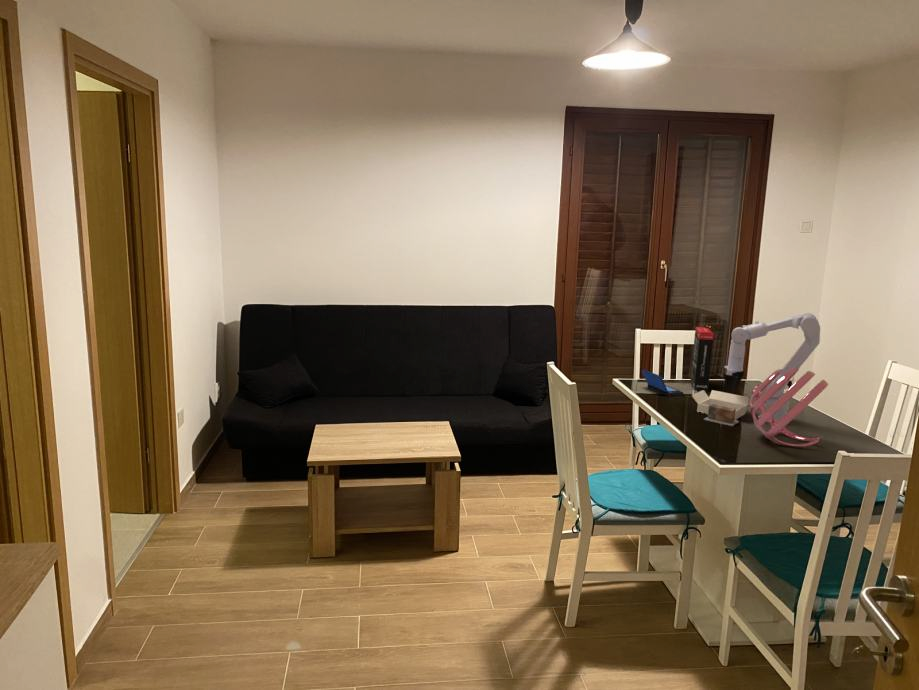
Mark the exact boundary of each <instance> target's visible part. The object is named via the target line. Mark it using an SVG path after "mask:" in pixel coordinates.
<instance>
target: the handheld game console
mask: <svg viewBox="0 0 919 690" xmlns="http://www.w3.org/2000/svg"><path fill="white" fill-rule="evenodd" d="M641 372H642V375H643V377H644V379H645V381H646V384H647V385H646V387H647V388H648V387H649V389H650V388H651V389H650V390H652V389H653V390H652V391H655V390H657V391H656V392H658V393H659V392H660V394H661V393H662V395H664V396H667V397H669V396H671V395H673V396H683V395H684V392H683V391H681V390H679V389H676V388H674V387H672V386H669V385H666V384H665V382H664V379H663V377H662V376H661V375H659V374H657V373H654V372H651V371H649V370H646V369H643V368H642V369H641Z"/></svg>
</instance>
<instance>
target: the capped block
mask: <svg viewBox="0 0 919 690" xmlns="http://www.w3.org/2000/svg"><path fill="white" fill-rule="evenodd" d="M735 412H736V409H733V408H728V407H724V406H719V405H714V404H712V405H710V406H709V410H708V414H707V417H708V419H713V420H717V421H722V422H726V423H733V422H734V419H735Z"/></svg>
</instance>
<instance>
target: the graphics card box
mask: <svg viewBox="0 0 919 690" xmlns="http://www.w3.org/2000/svg"><path fill="white" fill-rule="evenodd" d="M694 331H695V332H694V338H693V339H694V340H693V351H692V359H691V370H690V379H689V382H690V384H691V386H692V389H693V390H694V391H702V390H704V391H705V392H707V391H709V387H710V385H709V384H710V377H711V376H710V375H711V367H712V358H713V347H714V339H715V338H714V337H715V333H714V332H712V330H711V329H710V328H709V327H702V326H695V330H694Z"/></svg>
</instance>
